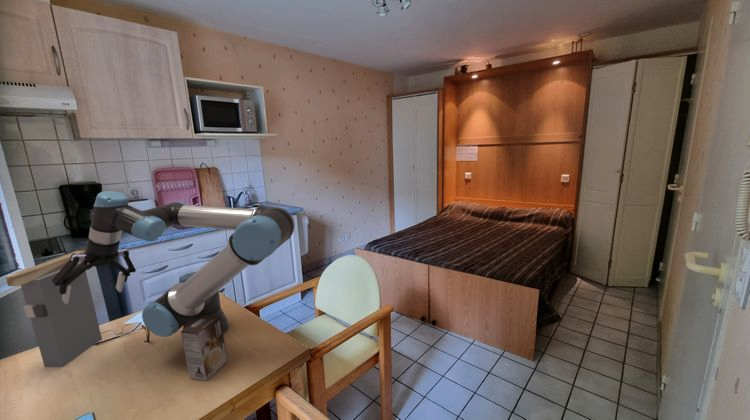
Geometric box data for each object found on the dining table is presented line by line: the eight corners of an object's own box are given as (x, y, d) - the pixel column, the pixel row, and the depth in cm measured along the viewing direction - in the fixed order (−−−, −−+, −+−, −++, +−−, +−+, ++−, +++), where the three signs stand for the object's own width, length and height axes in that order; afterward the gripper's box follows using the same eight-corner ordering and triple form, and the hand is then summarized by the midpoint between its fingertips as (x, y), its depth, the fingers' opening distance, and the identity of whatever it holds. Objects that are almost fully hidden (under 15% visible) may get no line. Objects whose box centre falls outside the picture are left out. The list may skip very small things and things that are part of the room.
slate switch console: (102, 339, 111) (83, 261, 104) (59, 369, 96) (35, 281, 90) (85, 339, 111) (66, 262, 104) (41, 369, 96) (15, 281, 90)
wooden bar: (100, 254, 112) (98, 245, 112) (19, 286, 87) (16, 275, 86) (91, 254, 112) (89, 245, 112) (7, 286, 87) (4, 275, 86)
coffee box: (211, 358, 100) (204, 313, 97) (228, 360, 99) (221, 315, 95) (188, 378, 91) (180, 330, 88) (206, 381, 90) (199, 332, 87)
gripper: (144, 229, 107) (133, 280, 112) (43, 237, 85) (34, 299, 91) (155, 240, 104) (142, 291, 109) (52, 250, 82) (42, 314, 87)
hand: (93, 295), depth 100 cm, fingers open, 13 cm apart
